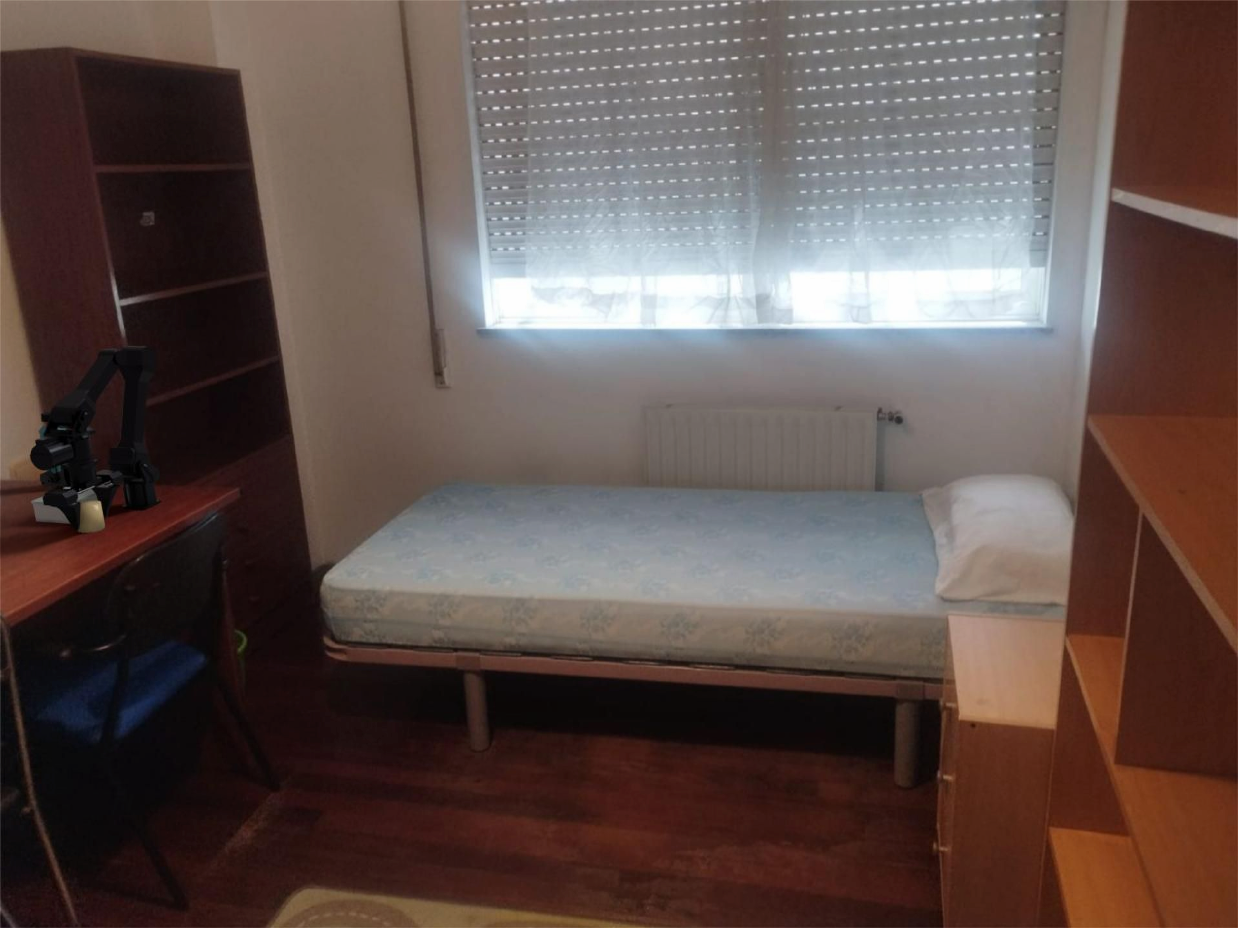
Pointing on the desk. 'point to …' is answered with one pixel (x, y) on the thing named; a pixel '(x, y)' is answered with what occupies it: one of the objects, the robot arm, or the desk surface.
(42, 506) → the storage box
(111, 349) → the robot arm
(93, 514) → the beige rounded cylinder
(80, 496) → the box lid
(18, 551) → the desk surface
